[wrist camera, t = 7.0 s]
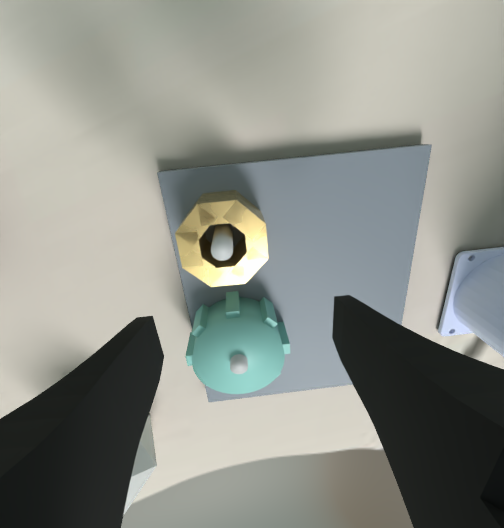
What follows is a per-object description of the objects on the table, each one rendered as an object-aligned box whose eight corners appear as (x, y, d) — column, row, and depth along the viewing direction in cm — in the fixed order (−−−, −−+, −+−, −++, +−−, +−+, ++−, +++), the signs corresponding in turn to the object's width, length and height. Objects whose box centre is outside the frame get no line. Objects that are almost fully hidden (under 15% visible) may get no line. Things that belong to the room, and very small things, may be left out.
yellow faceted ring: (258, 187, 17) (264, 197, 14) (264, 259, 19) (269, 280, 17) (179, 195, 17) (169, 206, 14) (193, 267, 19) (186, 289, 16)
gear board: (421, 144, 18) (482, 145, 14) (386, 371, 26) (417, 417, 22) (157, 171, 17) (133, 181, 13) (207, 393, 26) (202, 444, 21)
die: (64, 427, 27) (71, 552, 23) (17, 414, 20) (14, 590, 16) (149, 394, 30) (171, 498, 25) (133, 372, 23) (159, 510, 19)
